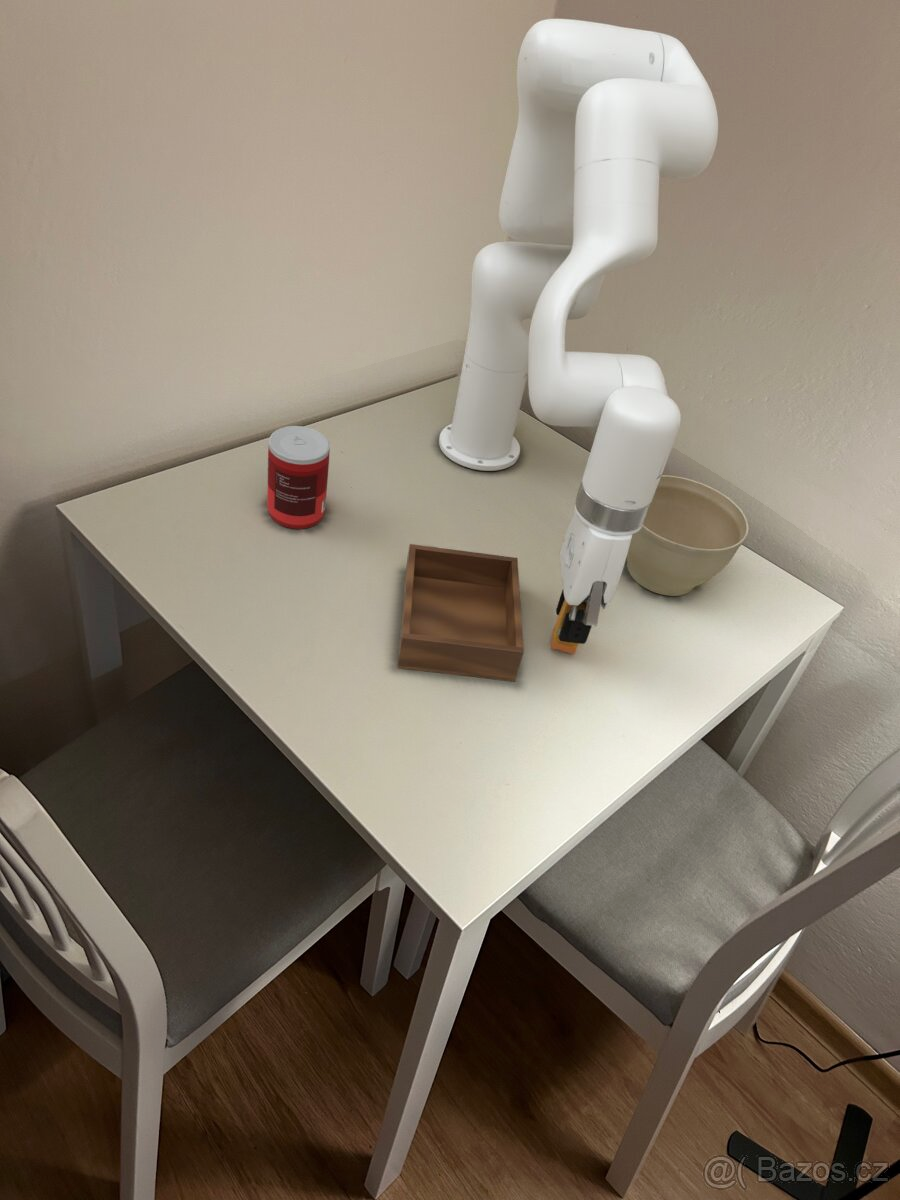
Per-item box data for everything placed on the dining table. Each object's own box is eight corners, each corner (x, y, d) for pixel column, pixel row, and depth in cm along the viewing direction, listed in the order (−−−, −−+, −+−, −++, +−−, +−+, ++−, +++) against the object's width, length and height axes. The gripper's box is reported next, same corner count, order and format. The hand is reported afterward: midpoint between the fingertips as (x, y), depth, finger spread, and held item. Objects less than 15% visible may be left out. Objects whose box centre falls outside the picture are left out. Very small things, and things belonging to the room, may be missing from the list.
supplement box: (577, 656, 106) (599, 594, 100) (549, 648, 106) (569, 586, 100) (580, 637, 109) (602, 575, 102) (552, 630, 109) (572, 568, 102)
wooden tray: (404, 573, 114) (409, 543, 111) (509, 586, 115) (517, 557, 112) (397, 667, 102) (402, 637, 98) (514, 681, 103) (523, 652, 100)
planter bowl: (743, 599, 121) (774, 536, 114) (649, 626, 114) (677, 560, 107) (670, 528, 131) (695, 466, 123) (580, 548, 124) (601, 484, 116)
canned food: (305, 488, 124) (309, 420, 117) (336, 521, 120) (342, 451, 113) (255, 503, 120) (256, 432, 113) (285, 536, 116) (288, 465, 108)
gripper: (570, 454, 100) (535, 578, 112) (585, 548, 87) (543, 675, 99) (636, 463, 100) (593, 585, 112) (659, 558, 88) (609, 683, 100)
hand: (570, 626), depth 106 cm, fingers closed on supplement box, 3 cm apart
